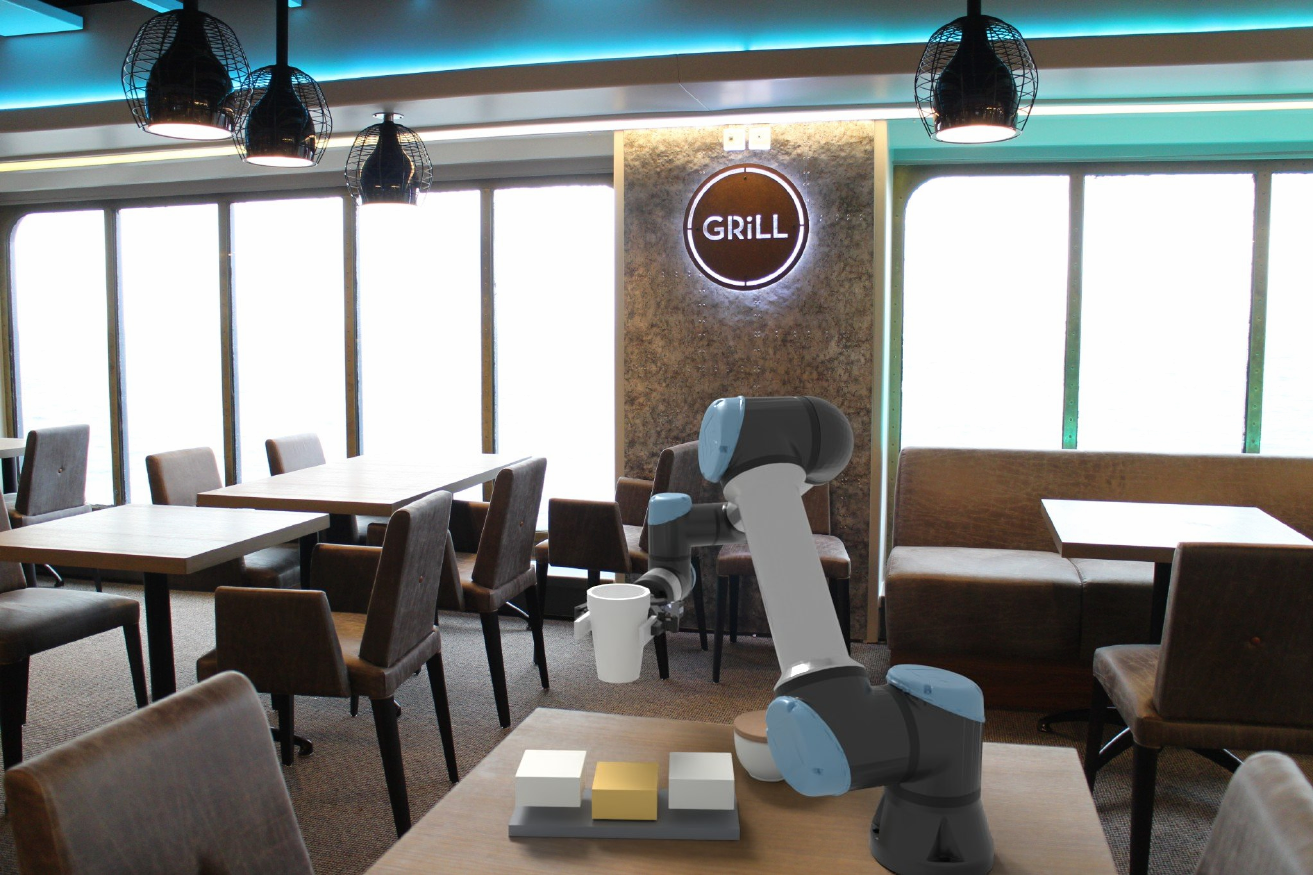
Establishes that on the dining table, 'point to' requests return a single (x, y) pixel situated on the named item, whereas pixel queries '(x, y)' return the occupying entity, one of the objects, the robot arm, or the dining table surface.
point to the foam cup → (618, 629)
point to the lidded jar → (755, 746)
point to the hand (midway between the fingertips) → (608, 633)
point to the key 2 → (701, 781)
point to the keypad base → (626, 822)
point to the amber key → (625, 790)
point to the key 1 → (551, 778)
